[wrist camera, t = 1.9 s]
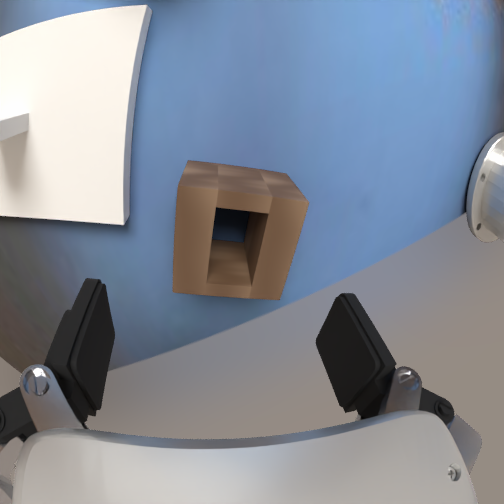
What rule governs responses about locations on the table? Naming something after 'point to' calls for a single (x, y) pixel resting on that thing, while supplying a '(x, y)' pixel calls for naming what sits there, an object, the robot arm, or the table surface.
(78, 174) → the key base
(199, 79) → the table surface
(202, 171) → the open wooden cubby
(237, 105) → the table surface
